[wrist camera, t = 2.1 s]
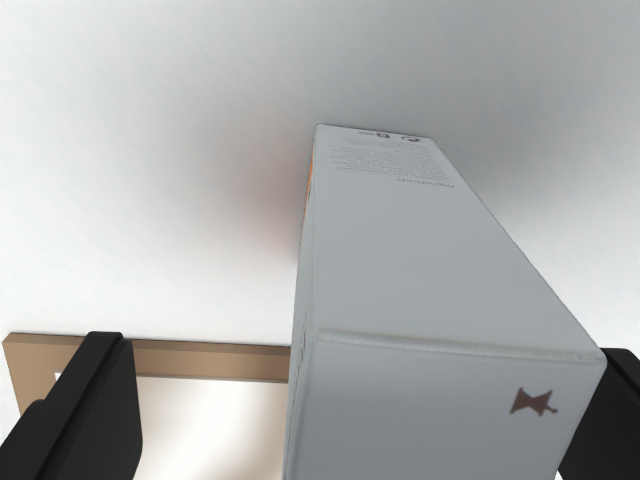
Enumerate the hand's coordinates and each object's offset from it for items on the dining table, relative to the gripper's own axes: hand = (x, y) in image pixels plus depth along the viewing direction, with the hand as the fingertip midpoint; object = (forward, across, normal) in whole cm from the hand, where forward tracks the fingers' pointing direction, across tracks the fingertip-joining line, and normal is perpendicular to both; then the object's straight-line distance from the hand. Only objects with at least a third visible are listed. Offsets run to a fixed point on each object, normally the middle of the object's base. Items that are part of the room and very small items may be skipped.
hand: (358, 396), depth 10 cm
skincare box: (+10, -1, -1) cm, 10 cm away
